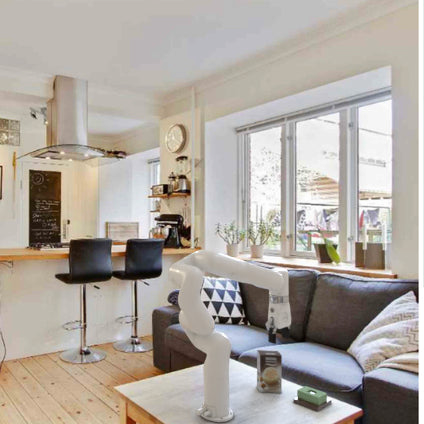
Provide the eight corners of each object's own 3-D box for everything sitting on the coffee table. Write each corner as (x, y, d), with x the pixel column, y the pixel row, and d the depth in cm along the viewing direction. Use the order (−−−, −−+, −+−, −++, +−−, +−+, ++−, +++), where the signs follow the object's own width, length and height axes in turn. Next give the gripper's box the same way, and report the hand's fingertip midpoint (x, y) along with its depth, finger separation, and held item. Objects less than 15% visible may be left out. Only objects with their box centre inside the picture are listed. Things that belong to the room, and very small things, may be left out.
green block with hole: (318, 405, 164) (318, 397, 164) (297, 397, 171) (297, 390, 171) (327, 400, 168) (327, 393, 168) (305, 393, 175) (305, 385, 175)
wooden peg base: (317, 411, 162) (317, 401, 162) (293, 402, 170) (293, 392, 170) (331, 403, 169) (331, 393, 168) (307, 394, 176) (307, 385, 176)
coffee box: (260, 392, 179) (259, 354, 179) (256, 386, 185) (256, 349, 185) (282, 393, 178) (281, 355, 178) (278, 386, 184) (277, 350, 184)
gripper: (275, 303, 164) (275, 347, 164) (298, 297, 175) (298, 338, 175) (258, 300, 170) (258, 342, 170) (282, 294, 180) (282, 334, 181)
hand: (279, 340), depth 172 cm, fingers open, 9 cm apart
